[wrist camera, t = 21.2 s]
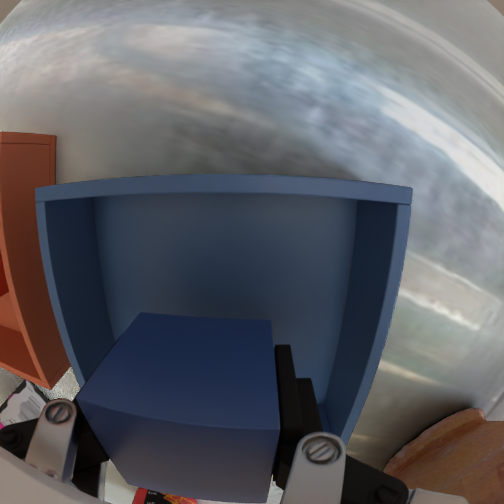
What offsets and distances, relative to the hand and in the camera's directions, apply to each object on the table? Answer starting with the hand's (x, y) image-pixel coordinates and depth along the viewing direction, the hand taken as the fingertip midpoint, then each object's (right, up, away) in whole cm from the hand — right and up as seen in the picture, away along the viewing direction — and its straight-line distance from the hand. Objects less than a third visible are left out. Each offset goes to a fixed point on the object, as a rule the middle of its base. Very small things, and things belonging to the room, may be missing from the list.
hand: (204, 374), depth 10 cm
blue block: (0, 0, 0) cm, 0 cm away
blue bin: (0, +1, +5) cm, 5 cm away
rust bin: (-17, +5, +4) cm, 18 cm away
